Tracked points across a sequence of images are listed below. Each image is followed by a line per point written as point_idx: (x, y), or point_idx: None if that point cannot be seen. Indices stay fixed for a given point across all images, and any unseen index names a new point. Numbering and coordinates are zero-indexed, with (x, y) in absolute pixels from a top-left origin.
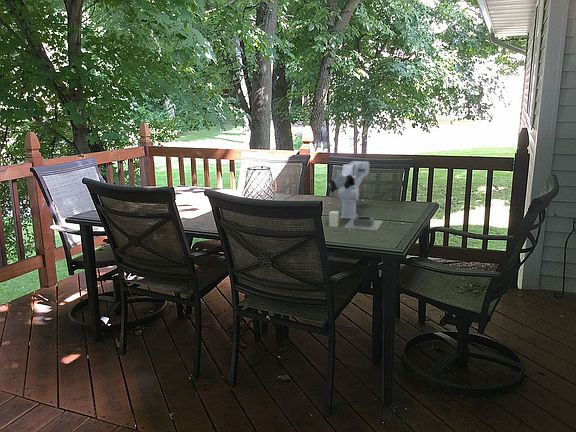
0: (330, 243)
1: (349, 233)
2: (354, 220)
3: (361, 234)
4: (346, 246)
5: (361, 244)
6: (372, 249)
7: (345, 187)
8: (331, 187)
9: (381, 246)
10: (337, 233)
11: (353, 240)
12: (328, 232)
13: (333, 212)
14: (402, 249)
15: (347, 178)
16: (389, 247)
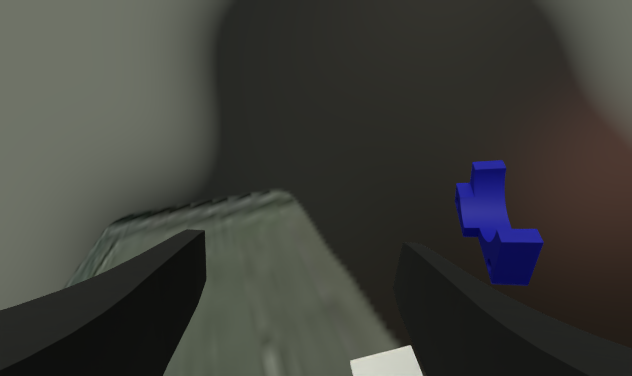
0: (288, 194)
1: (259, 309)
2: None
3: (207, 320)
4: (242, 196)
5: (204, 224)
6: (177, 209)
7: (201, 262)
8: (418, 251)
9: (150, 236)
10: (307, 284)
11: (230, 242)
12: (348, 279)
13: (388, 374)
14: (100, 241)
15: (58, 315)
16: (130, 239)
